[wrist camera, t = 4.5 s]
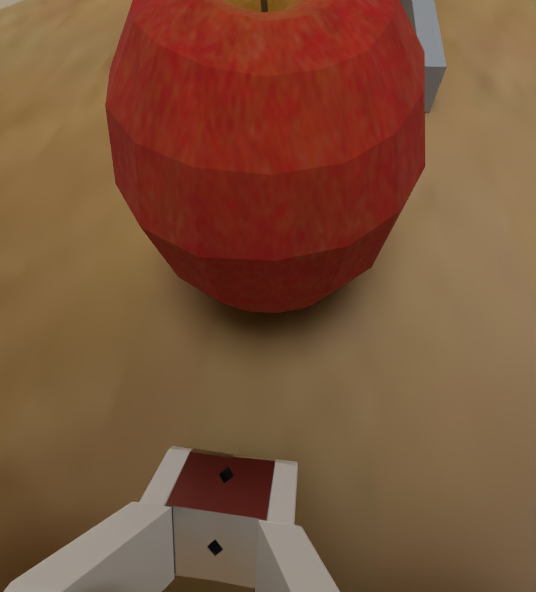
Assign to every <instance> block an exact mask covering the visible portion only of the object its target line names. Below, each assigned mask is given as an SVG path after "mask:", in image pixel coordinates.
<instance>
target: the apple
mask: <svg viewBox="0 0 536 592" xmlns="http://www.w3.org/2000/svg"><path fill="white" fill-rule="evenodd" d="M105 106H106V114H107V121H108V129H109V137H110V144H111V152H112V159H113V167H114V174H115V182H116V185H117V187H118V188H119V190H120V192H121V194H122V195H123V197H124V199H125V201H126V202H127V204H128V206H129V208H130V209H131V211H132V213H133V215H134V216H135V218H136V220H137V222H138V223H139V225H140V227H141V228H142V229H143V231H144V232H145V233H146V235H147V236H148V237H149V239H150V240H151V241H152V243H153V244H154V245H155V247H156V248H157V249H158V251H159V252H160V253H161V254H162V256H163V257H164V258H165V260H166V261H167V262H168V264H169V265H170V266H171V268H172V269H173V270H174V272H175V273H176V274H177V276H178V277H179V278H181V279H183V280H184V281H186V282H188V283H189V284H191V285H193V286H194V287H196V288H198V289H199V290H201V291H203V292H204V293H206V294H208V295H209V296H211V297H213V298H214V299H216V300H218V301H219V302H221V303H224V304H227V305H229V306H232V307H235V308H238V309H241V310H244V311H252V312H268V313H281V312H286V311H291V310H296V309H301V308H306V307H309V306H311V305H313V304H314V303H316V302H318V301H319V300H321V299H323V298H324V297H326V296H327V295H329V294H331V293H332V292H334V291H335V290H337V289H339V288H340V287H342V286H343V285H345V284H346V283H348V282H349V281H351V280H352V279H354V278H355V277H357V276H359V275H360V274H362V273H363V272H365V271H366V270H368V269H369V268H371V267H372V265H373V263H374V261H375V259H376V257H377V256H378V254H379V252H380V250H381V248H382V246H383V244H384V243H385V241H386V239H387V237H388V235H389V233H390V231H391V230H392V228H393V226H394V224H395V222H396V220H397V218H398V216H399V215H400V213H401V211H402V209H403V207H404V205H405V203H406V201H407V200H408V198H409V196H410V194H411V192H412V190H413V188H414V186H415V184H416V183H417V181H418V179H419V177H420V175H421V173H422V171H423V169H424V168H425V52H424V50H423V47H422V45H421V43H420V41H419V39H418V37H417V35H416V33H415V31H414V29H413V27H412V25H411V23H410V20H409V18H408V16H407V14H406V12H405V10H404V8H403V6H402V4H401V2H400V0H133V1H132V4H131V7H130V10H129V13H128V16H127V19H126V22H125V25H124V28H123V31H122V34H121V37H120V40H119V43H118V46H117V49H116V52H115V55H114V58H113V61H112V64H111V67H110V74H109V81H108V89H107V97H106V105H105Z"/></svg>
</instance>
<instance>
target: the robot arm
mask: <svg viewBox="0 0 536 592" xmlns="http://www.w3.org/2000/svg"><path fill="white" fill-rule="evenodd" d="M297 474H298V463H297V462H296V461H287V460H278V459H276V460H275V459H267V458H258V457H250V456H242V455H233V454H226V453H220V452H213V451H207V450H200V449H194V448H193V449H190V448H184V447H178V446H172V447H171V448H170V449H168V451H167V452H166V454H165V456H164V458H163V460H162V461H161V463H160V465H159V467H158V469H157V470H156V472H155V474H154V476H153V478H152V479H151V481H150V483H149V485H148V487H147V488H146V490H145V492H144V494H143V496H142V497H141V499H140V501H139V502H133V501H132V502H131V503H129V504H128V505H126V506H125V507H123V508H121V509H120V510H118V511H117V512H115V513H114V514H112V515H111V516H109V517H108V518H106V519H105V520H103V521H102V522H100V523H99V524H97V525H96V526H94V527H93V528H91V529H90V530H88V531H87V532H85V533H84V534H82V535H81V536H79V537H78V538H76V539H75V540H73V541H72V542H70V543H69V544H67V545H66V546H64V547H63V548H61V549H60V550H58V551H57V552H55V553H54V554H52V555H51V556H49V557H48V558H46V559H45V560H43V561H42V562H40V563H39V564H37V565H36V566H34V567H33V568H31V569H30V570H28V571H26V572H25V573H23V574H22V575H20V576H19V577H17V578H16V579H14V580H13V581H11V582H10V584H9V585H8V586H7V588H6V589H5V590H4V592H162V591H163V590H164V589H165V588H166V587H167V586H168V585H169V584H170V583H171V582H172V581H173V580H174V578H175V575H177V576H184V577H192V578H199V579H207V580H214V581H219V582H224V583H229V584H234V585H239V586H244V587H249V588H254V589H255V592H340V591H339V589H338V587H337V586H336V584H335V582H334V580H333V579H332V577H331V575H330V574H329V572H328V570H327V569H326V567H325V565H324V564H323V562H322V560H321V558H320V557H319V555H318V553H317V552H316V550H315V548H314V547H313V545H312V543H311V541H310V540H309V538H308V536H307V535H306V533H305V531H304V530H303V528H302V526H297V525H294V524H295V508H296V491H297Z"/></svg>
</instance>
